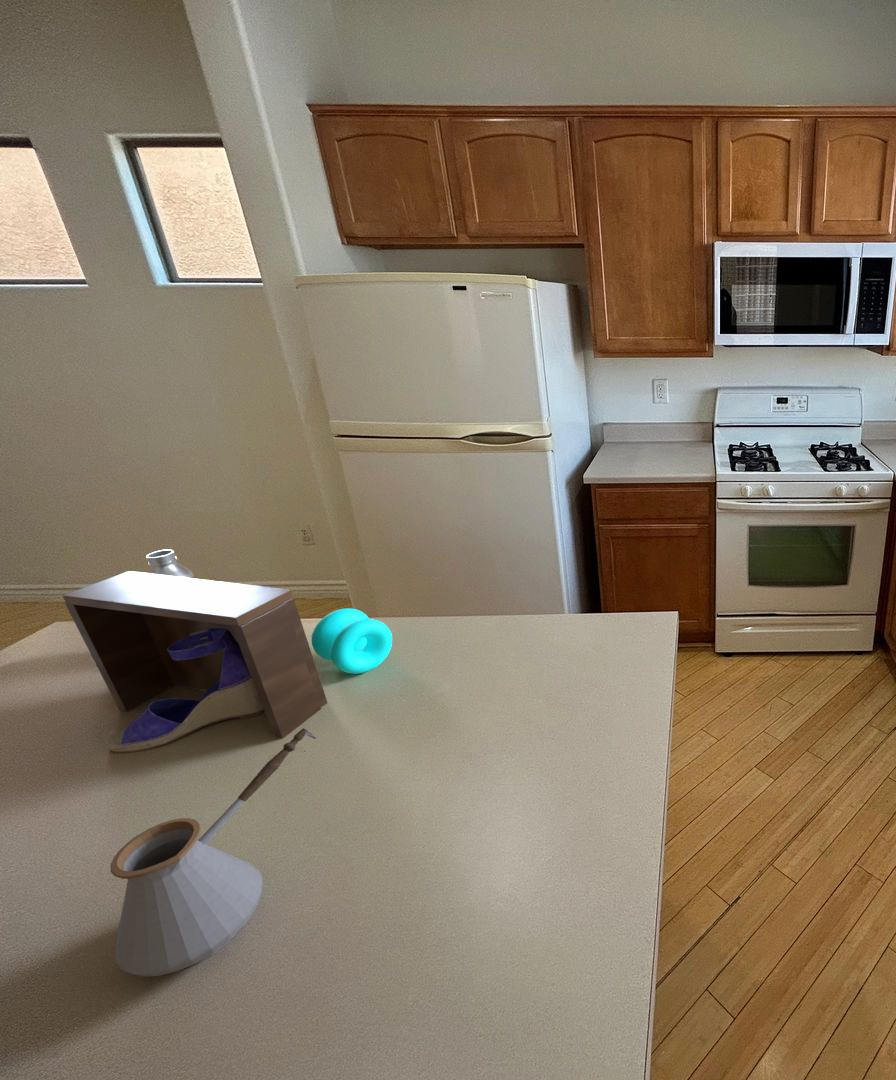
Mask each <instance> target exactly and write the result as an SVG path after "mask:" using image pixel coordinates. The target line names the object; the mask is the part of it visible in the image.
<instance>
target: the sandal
mask: <svg viewBox="0 0 896 1080" xmlns="http://www.w3.org/2000/svg"><path fill="white" fill-rule="evenodd" d="M195 634H196V635H195ZM189 636H190V637H187V638H184V639H181V640H179V641H177V642H175V643H173V644H172V645H170V646H169V647H168V649H167V650H168V652H169V654H170V656H171V658H172V659H173V660H178V661H179V660H187V659H193V658H197V657H202V656H205V655H209V654H212V653H215V652H218V651H220V650H222V649H224V648H225V650H224V659H223V665H222V673H221V679H220V681H219V682H217V683H216V684H215V685H213V686H212V687H211V688H210V689H209V690H208V691H205V692H204V693H203V695H202V696H201V697H200V698H199V699H190V698H175V697H174V698H173V697H171V698H163V699H162V698H161V699H158V700H155V701H152V702H150V703H149V704H148V705H147V707H146V709H145V710H144V711H143V713H142V714H141V715H140V716H138V717H137V718H136V719H134V720H133V721H132V722H130V723H129V724H128V725H127V726H125V727H122V728H120V729H119V730H117V731H115V732H114V733H112V734H111V735H110V736H109V737H108V738H107V739H106V742H105V744H106V747H107V748H108V749H109V750H110V752H112V753H116V754H125V753H135V752H142V751H147V750H151V749H156V748H159V747H162V746H165V745H167V744H169V743H172V742H174V741H176V740H178V739H181V738H182V737H185V736H187V735H189V734H191V733H193V732H196V731H197V730H199V729H201V728H204V727H207V726H209V725H212V724H215V723H218V722H221V721H226V720H230V719H235V718H240V719H247V718H250V717H256V716H259V715H262V714H264V713H265V712H264V709H263V706H262V704H261V701H260V698H259V696H258V693H257V691H256V688H255V685H254V683H253V680H252V678H251V675H250V672H249V670H248V667H247V664H246V662H245V659H244V657H243V654H242V651H241V649H240V646H239V644H238V642H237V641H236V640H235V639H234V637H233V635H232V634H231V632H230V631H229V630H226V629H224V628H217V629H214V628H210V629H207V630H202V631H198V632H194V633H191V634H190V635H189ZM206 636H207V637H206ZM208 641H211V642H209V643H205V642H208ZM202 643H204V644H202ZM199 644H200V645H199ZM190 647H194V648H191V649H187V648H190ZM184 649H186V650H184Z"/></svg>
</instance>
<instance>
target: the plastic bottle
mask: <svg viewBox="0 0 896 1080" xmlns="http://www.w3.org/2000/svg"><path fill="white" fill-rule="evenodd" d="M145 558H146V560H147V562H148V563H147V564H148V566H149V567H151V568H152V569H151V570H150V571H149V573H151V574H160V575H168V576H177V577H186V578H194V579H196V578H195V574H194V573H193V572H192V570H191V569H189V568H187V567H186V566H184V565H182V564H180V563H179V562H177V561H178V557H177V555H176V554H175V551H174V550H173V549H161V550H157V551H153V552H151V553H148V554H146V557H145Z"/></svg>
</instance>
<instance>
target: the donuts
mask: <svg viewBox="0 0 896 1080" xmlns="http://www.w3.org/2000/svg"><path fill="white" fill-rule="evenodd" d="M311 646H312V648H313V649H312V650H313V651H314V652H315V653H316V655H317V656H319V657H320V658H322V659H324V660H326V661H330V662H333V664H334V665H335V667H336V668H337V669H339V670H340V671H342V672H345V673H346V674H354V675H357V674H364V673H366V672H369V671H371V670H374V669H375V668H377V667H378V666H380V665H381V664H382V663H383V662H384V661H385V660H386V659H387V657H388V656H389V654H390V652H391V650H392V646H393V633H392V632H391V630H390V628H389V627H388V626H387V624H386V623H384V622H382V621H380V620H378V619H374V618H373V619H372V618H369V617H368V615H367V614H366V613H365V612H363V611H361V610H359V609H356V608H350V607H349V608H347V607H346V608H340V609H337V610H333V611H331V612H329V613H328V614H326V615H325V616H324V617H322V618H321V619H320V620H318V622H317V624H316V625H315V627H314V628H313V632H312V634H311Z"/></svg>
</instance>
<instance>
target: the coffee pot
mask: <svg viewBox="0 0 896 1080" xmlns="http://www.w3.org/2000/svg"><path fill="white" fill-rule="evenodd" d="M305 736H308V737H309V738H312V739H315V740H317V739H318V738H319V737H318V736H317V735H316V734H314V733H312V732H310V731H308V729H306V728H304V727H303V728H301V729H300V730H299V731H298V732H297V733H295V735H294V736H293V738H292V739H291V740H290V741H288V742H286V743H284V744H283V749H281V750H280V751H279V752H278V753H277V754H276V755H274V756H273V758H271V759H270V760H268V761H267V762H266V763H265V765H264V766H263V767H262V768H261V769H260V771H258V773H257V774H256V775H255V776H254V777H253V779H252V780H251V781H250V783H249V784H248V785H247V786H246V787H245V788H244V789H243V790H242V791H241V793H240V794H239V795H238V796H237V799H236V800H235V801H234V802H233V803H232V804H231V805H230V806H229V807H228V808H227V809H226V810H225V811H224V813H222V814H221V815H220V816H219V817H218V818H217V820H215V822H214V823H213V824H211V826H209V828H208V829H207V830H206V831H205V832H204V833H203V834H202V835H201V833H202V825H201V823H200V822H199V821H198V820H197V819H194V818H190V817H181V818H175V819H171V820H166V821H164V822H161V823H158V824H156V825H154V826H153V827H149V828H148V829H146V830H144V831H142V832H140V833H139V834H137V835H136V836H135V837H133V838H131V839H130V840H129V841H128V842H126V843H125V844H124V845H123V846H122V847H121V848H120V849H119V850H118V851H117V852H116V854H115V855H114V856H113V858H112V860H111V863H110V873H111V875H113V876H114V877H115V878H119V879H122V880H127V883H126V888H125V892H124V893H125V894H124V898H123V899H124V900H123V902H122V903H123V904H122V909H121V914H120V920H119V925H118V928H117V929H118V930H117V933H116V934H117V935H116V940H115V945H114V958H115V959H114V960H115V963H116V964H117V966H118V967H119V969H121V970H122V972H125V973H127V974H131V975H134V976H137V977H160V976H165V975H168V974H172V973H175V972H179V971H181V970H184V969H185V968H190V967H192V966H194V965H196V964H199V963H200V962H203V961H205V960H206V959H208V958H209V957H210V956H213V955H214V954H216V953H217V952H218V951H219V950H221V949H222V948H223V947H225V946H226V945H227V944H228V943H229V942H231V940H233V938H234V937H235V936H236V935H237V934H238V933H239V932H240V930H241V929H242V928H243V927H244V926H245V925H246V923H247V922H248V921H249V919H250V918H251V917H252V916H253V914H254V913H255V910H256V908H257V906H258V904H259V902H260V900H261V895H262V891H263V884H264V879H263V876H262V873H261V871H260V870H259V869H258V868H257V867H255V865H253V864H252V863H251V862H247V861H245V860H244V859H241V858H239V857H236V856H234V855H232V854H229V853H227V852H225V851H223V850H220V849H218V848H217V847H214V846H211V845H210V844H209V843H210V842H211V841H212V840H213V839H214V837H215V836H216V835H217V834H218V833H219V832H220V830H221V829H222V828H223V827H224V826H225V825H226V823H228V821H229V820H230V819H231V818H232V817H233V816H234V814H235V813H236V812H237V811H238V810H239V809H240V808H241V806H242V805H243V804H244V803H245V802H247V801H248V800H249V798H251V797H252V795H254V793H255V792H257V790H259V788H260V787H261V786H262V785H263V784H264V783H265V782H267V780H268V779H269V778H270V777H271V776H272V775H273V774H274V773H275V772H277V770H278V769H279V767H280V766H281V765H282V763H283V762H284V760H285V759H286V757H287V756H288V755H289V753H291V752H293V751H295V750H296V745H297V744H298V743H299V742H300V741H301V740H303V739H304V738H305ZM200 836H201V837H200Z"/></svg>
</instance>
